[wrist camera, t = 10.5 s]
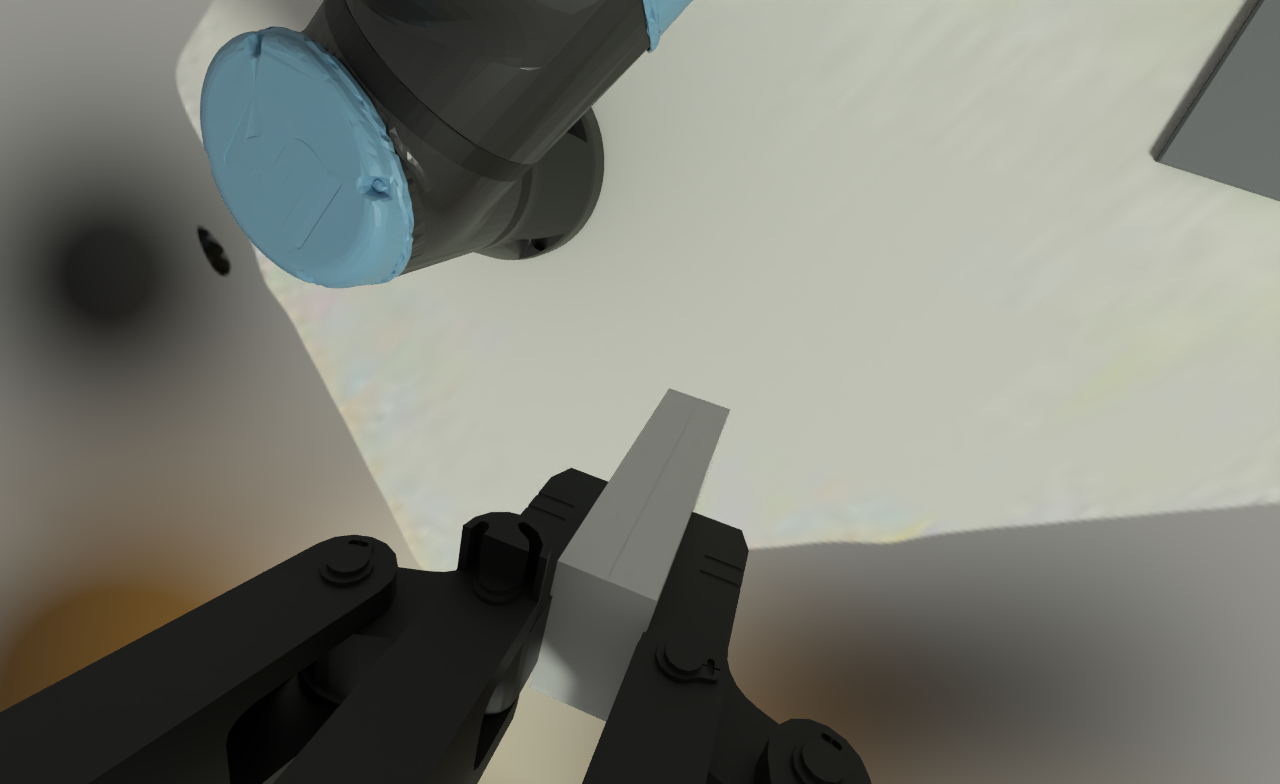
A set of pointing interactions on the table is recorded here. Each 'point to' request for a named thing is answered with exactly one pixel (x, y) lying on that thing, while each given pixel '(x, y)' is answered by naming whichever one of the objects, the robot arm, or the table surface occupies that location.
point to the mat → (1237, 113)
